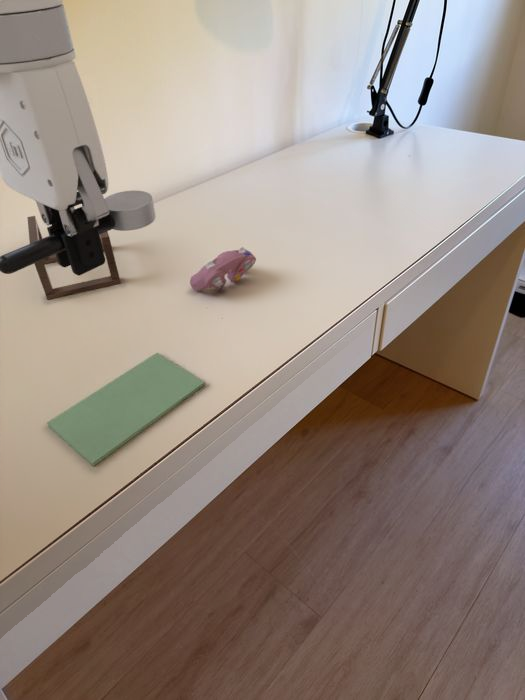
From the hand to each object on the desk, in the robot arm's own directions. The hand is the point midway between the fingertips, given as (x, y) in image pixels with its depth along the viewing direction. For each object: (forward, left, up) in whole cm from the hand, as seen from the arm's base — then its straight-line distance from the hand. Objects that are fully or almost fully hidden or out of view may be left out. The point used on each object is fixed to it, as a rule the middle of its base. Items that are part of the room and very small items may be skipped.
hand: (82, 263), depth 49 cm
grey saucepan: (+1, 0, +2) cm, 2 cm away
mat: (+1, 0, -19) cm, 19 cm away
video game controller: (+19, +21, -19) cm, 34 cm away
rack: (-1, +35, -19) cm, 40 cm away
